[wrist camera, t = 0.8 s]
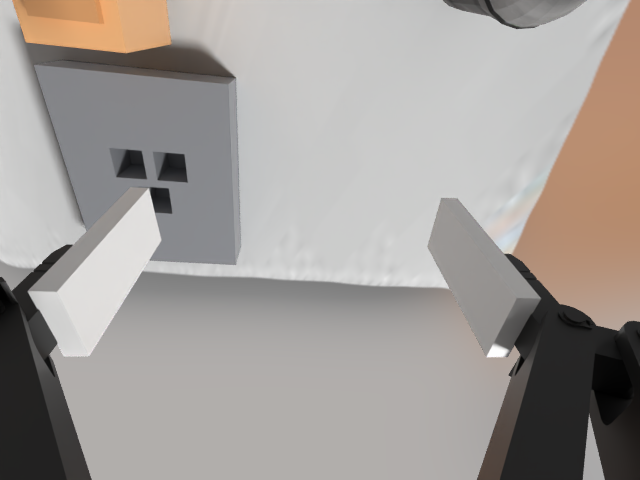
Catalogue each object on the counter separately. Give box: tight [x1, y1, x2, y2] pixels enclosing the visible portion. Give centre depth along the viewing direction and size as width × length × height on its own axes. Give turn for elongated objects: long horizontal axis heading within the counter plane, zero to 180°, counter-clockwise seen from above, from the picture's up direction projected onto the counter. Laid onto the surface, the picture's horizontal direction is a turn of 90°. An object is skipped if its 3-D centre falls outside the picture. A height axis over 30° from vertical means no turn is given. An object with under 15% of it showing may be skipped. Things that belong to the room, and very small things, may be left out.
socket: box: [34, 60, 241, 265], centre depth 36 cm, size 20×16×4 cm
